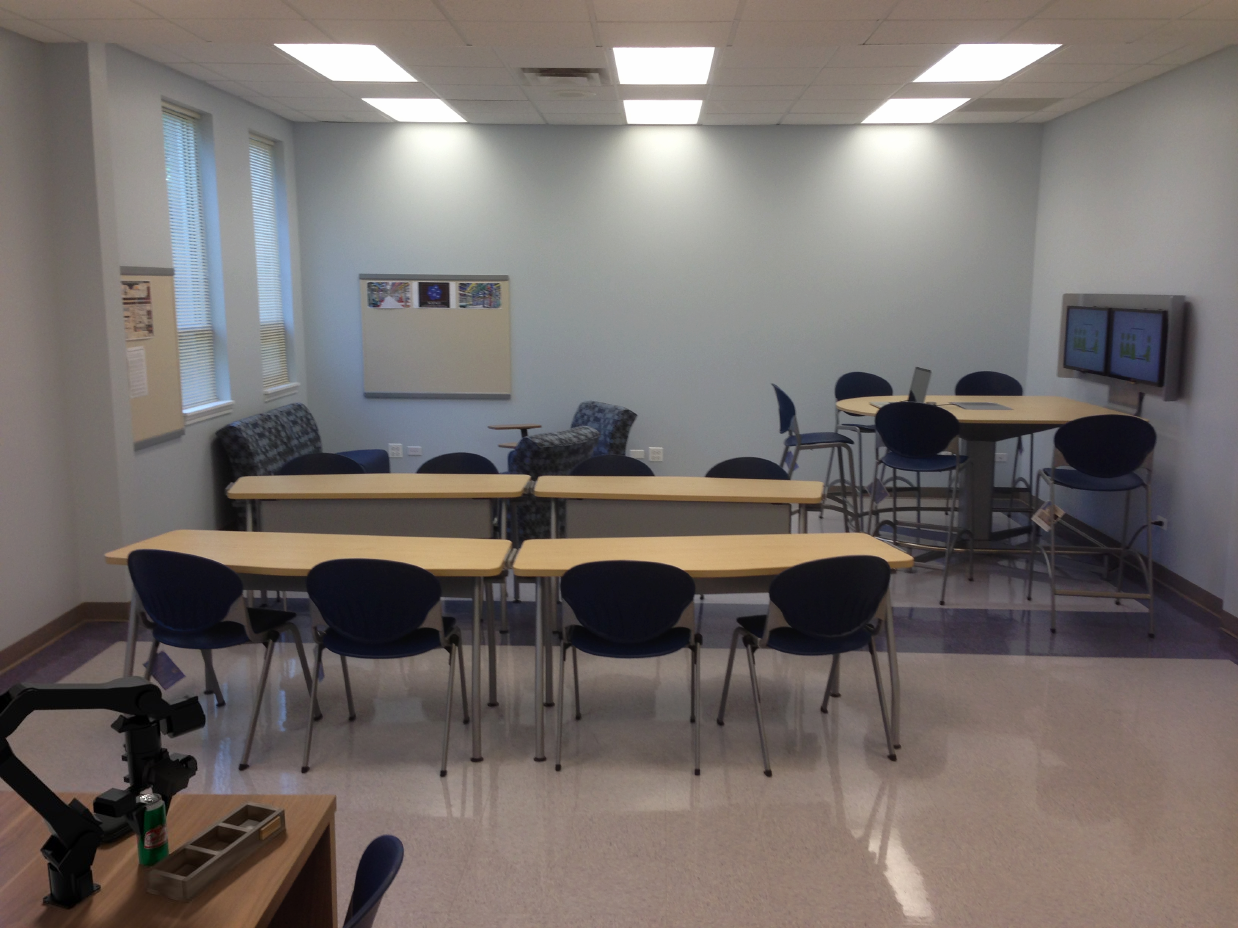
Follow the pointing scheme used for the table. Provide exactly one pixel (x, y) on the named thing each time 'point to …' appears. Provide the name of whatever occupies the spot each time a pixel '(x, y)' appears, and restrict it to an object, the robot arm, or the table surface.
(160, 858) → the soda can
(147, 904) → the table surface
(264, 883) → the table surface
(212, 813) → the table surface
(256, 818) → the can rack
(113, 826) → the carrying case or bag
